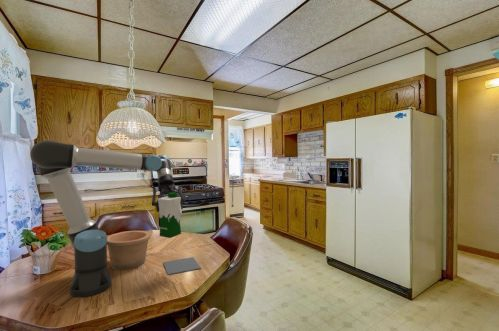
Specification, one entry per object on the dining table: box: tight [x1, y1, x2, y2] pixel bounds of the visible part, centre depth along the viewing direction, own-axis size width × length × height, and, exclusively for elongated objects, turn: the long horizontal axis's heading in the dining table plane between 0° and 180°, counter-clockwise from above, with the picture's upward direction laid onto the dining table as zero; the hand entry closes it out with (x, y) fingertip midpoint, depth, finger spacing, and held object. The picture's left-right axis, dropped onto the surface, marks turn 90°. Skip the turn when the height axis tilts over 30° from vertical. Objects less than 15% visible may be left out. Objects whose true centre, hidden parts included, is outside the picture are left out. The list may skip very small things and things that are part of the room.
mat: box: [162, 256, 202, 276], centre depth 130 cm, size 16×16×1 cm
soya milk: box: [157, 191, 182, 239], centre depth 121 cm, size 9×9×20 cm
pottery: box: [106, 230, 151, 270], centre depth 134 cm, size 22×22×14 cm
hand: (170, 215), depth 119 cm, fingers closed on soya milk, 8 cm apart
